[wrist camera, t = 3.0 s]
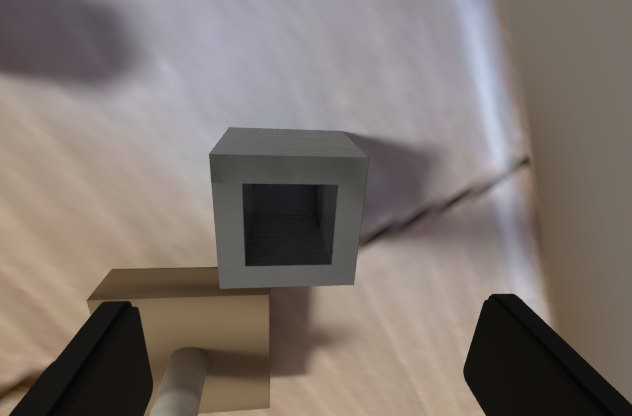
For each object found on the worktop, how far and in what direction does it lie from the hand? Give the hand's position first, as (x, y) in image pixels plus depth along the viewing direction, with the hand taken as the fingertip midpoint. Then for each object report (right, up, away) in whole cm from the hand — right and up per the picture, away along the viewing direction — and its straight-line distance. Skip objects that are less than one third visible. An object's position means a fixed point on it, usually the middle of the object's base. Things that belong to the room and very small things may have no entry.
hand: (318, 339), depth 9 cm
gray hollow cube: (-2, +5, +11) cm, 12 cm away
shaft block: (-8, -5, +14) cm, 17 cm away
